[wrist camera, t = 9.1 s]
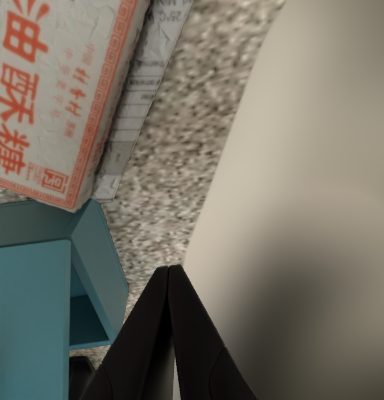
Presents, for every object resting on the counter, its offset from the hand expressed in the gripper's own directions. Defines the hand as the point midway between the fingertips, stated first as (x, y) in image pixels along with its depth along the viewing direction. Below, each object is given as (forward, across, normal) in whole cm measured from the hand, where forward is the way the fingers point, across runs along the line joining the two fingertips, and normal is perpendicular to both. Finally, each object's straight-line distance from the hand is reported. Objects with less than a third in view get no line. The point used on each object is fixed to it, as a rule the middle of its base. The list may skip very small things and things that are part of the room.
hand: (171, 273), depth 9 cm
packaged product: (+13, +5, -7) cm, 15 cm away
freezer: (+13, +13, +9) cm, 20 cm away
